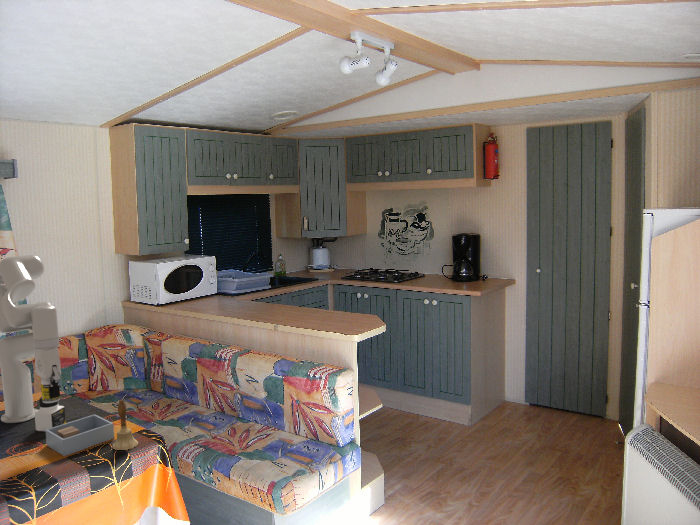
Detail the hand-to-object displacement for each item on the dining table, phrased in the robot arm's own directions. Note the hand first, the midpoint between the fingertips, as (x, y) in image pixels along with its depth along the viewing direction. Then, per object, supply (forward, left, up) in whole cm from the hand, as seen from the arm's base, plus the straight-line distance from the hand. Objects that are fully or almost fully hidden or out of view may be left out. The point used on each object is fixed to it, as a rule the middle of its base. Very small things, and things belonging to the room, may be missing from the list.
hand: (51, 394), depth 199 cm
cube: (+5, +3, -17) cm, 18 cm away
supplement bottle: (0, 0, -2) cm, 2 cm away
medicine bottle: (-16, +6, -18) cm, 25 cm away
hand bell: (+20, +15, -18) cm, 30 cm away
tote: (+5, +7, -18) cm, 19 cm away
